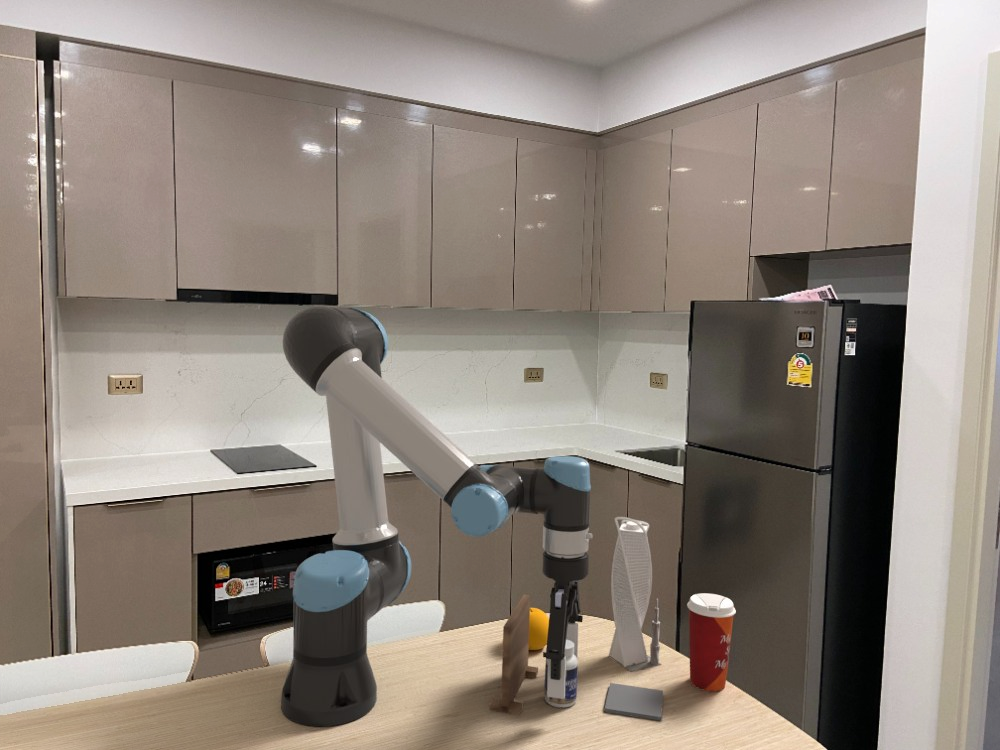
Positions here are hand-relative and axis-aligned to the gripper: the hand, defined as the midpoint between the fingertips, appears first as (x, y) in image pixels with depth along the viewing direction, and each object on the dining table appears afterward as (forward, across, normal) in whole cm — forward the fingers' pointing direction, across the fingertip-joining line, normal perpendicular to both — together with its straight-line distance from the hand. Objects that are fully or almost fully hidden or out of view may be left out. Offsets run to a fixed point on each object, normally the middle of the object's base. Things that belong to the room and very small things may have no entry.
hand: (563, 677), depth 122 cm
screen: (+4, +1, +8) cm, 9 cm away
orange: (+4, +19, +9) cm, 22 cm away
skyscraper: (+5, +19, -10) cm, 22 cm away
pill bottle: (+4, 0, 0) cm, 4 cm away
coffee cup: (+4, +14, -24) cm, 28 cm away
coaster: (+4, +3, -12) cm, 13 cm away
